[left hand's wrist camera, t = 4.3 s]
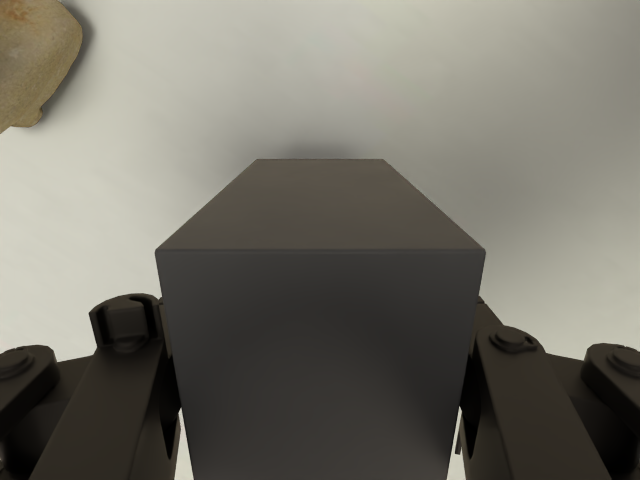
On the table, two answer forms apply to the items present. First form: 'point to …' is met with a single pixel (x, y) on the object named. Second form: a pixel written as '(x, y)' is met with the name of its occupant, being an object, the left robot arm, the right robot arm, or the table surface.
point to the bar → (320, 324)
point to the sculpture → (33, 56)
